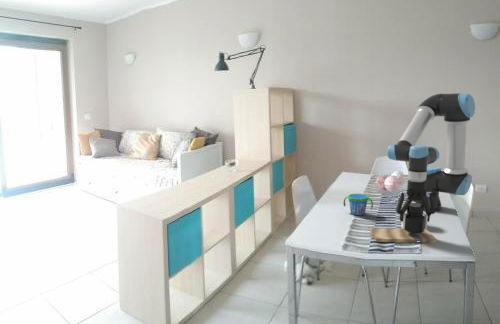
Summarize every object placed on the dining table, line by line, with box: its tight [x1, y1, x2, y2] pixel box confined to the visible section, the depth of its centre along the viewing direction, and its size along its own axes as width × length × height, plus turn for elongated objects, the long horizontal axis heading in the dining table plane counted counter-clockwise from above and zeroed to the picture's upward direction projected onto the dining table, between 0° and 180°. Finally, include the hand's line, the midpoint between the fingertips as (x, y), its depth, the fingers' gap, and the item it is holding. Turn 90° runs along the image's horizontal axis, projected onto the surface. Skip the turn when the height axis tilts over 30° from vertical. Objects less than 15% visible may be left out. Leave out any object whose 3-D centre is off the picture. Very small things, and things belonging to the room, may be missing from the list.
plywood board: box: [369, 227, 438, 244], centre depth 171 cm, size 26×13×2 cm, turn 84°
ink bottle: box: [404, 202, 425, 233], centre depth 169 cm, size 10×9×12 cm
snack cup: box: [343, 193, 374, 216], centre depth 203 cm, size 16×10×10 cm
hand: (413, 227), depth 170 cm, fingers closed on ink bottle, 9 cm apart
